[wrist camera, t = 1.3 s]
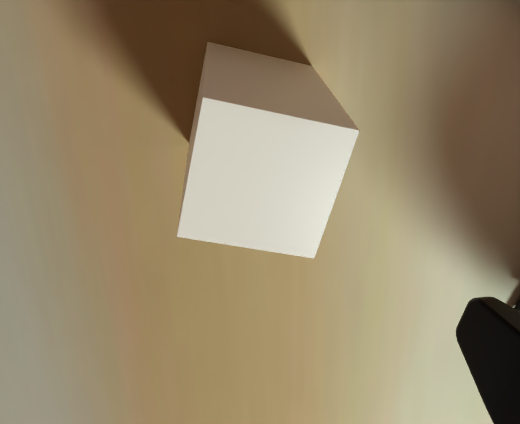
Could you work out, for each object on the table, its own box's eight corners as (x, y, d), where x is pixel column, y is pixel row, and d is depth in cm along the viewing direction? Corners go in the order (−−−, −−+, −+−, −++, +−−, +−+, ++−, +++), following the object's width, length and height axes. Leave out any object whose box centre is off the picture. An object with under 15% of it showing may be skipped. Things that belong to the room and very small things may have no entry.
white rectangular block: (312, 65, 18) (359, 130, 12) (284, 161, 20) (313, 258, 14) (207, 41, 18) (202, 97, 12) (189, 142, 19) (176, 236, 13)
